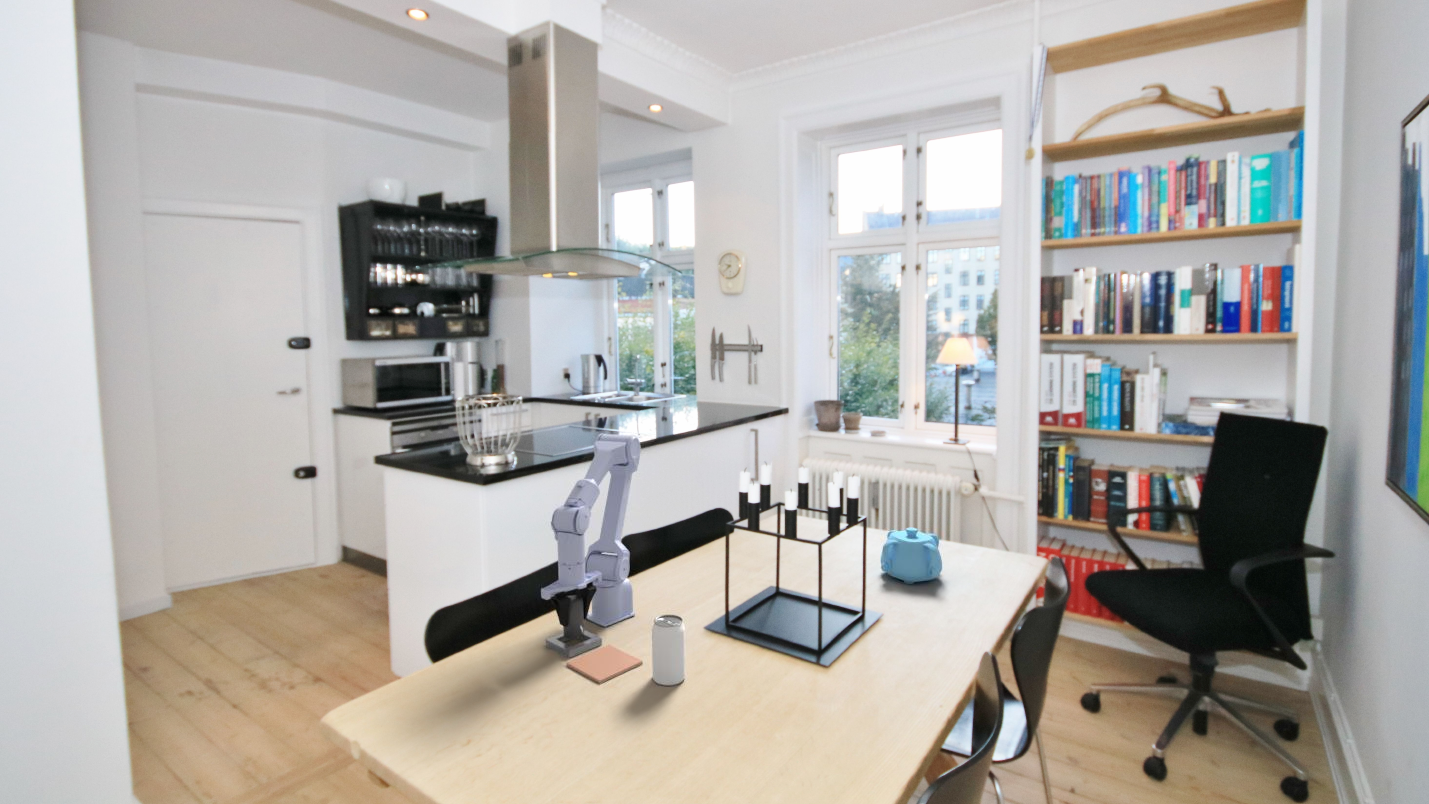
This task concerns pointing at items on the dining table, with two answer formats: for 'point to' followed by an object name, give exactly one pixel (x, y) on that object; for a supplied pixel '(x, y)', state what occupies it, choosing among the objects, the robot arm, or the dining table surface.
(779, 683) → the dining table surface
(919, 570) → the decorative pot
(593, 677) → the tile
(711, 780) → the dining table surface
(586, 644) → the socket collar
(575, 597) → the plug
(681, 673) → the can
